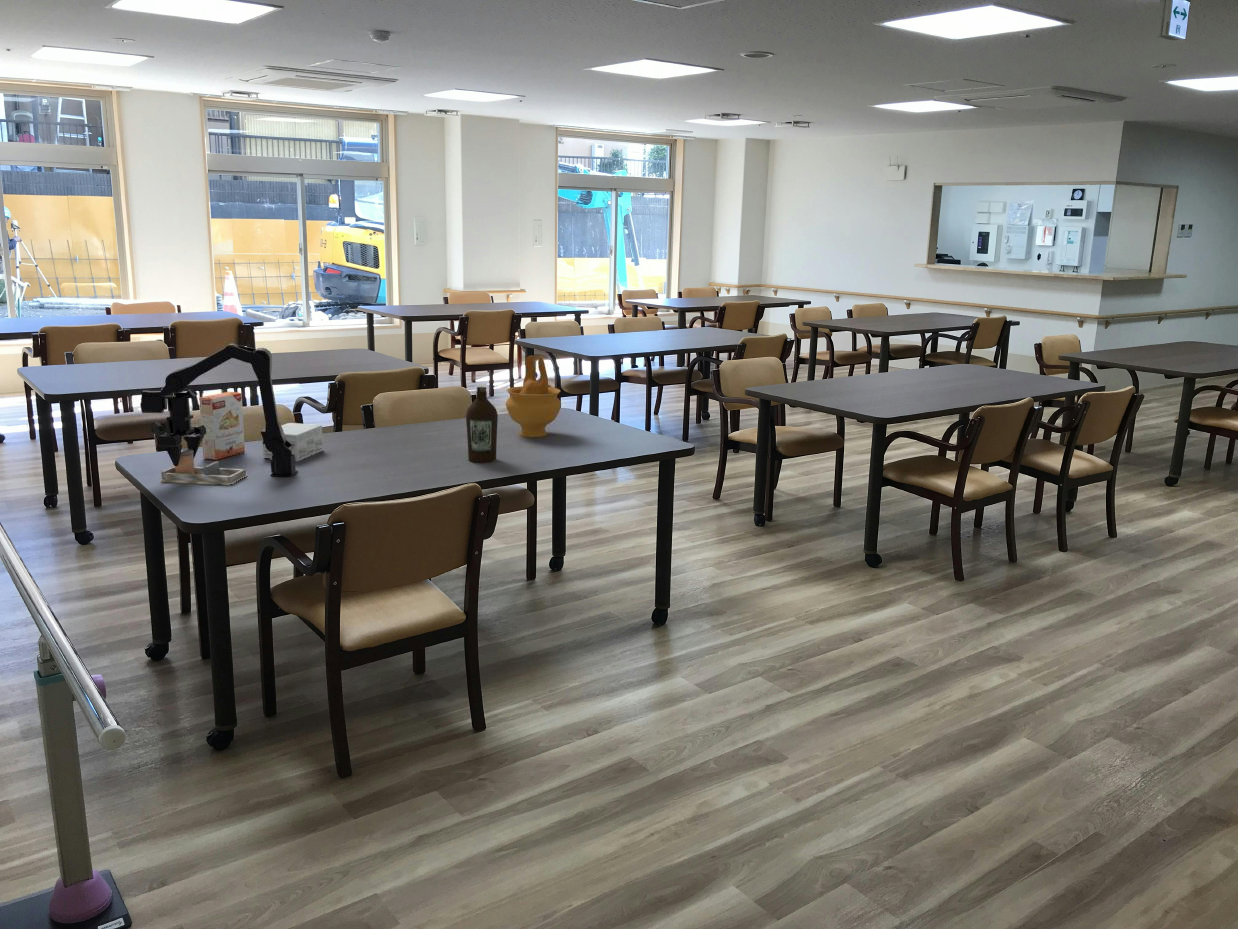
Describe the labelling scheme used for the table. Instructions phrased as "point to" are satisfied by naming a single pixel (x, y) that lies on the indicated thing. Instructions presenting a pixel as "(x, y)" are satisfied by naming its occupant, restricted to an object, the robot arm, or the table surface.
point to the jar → (186, 462)
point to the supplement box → (301, 440)
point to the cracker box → (222, 425)
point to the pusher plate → (212, 469)
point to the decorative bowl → (533, 401)
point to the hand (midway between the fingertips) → (184, 462)
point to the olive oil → (481, 429)
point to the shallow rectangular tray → (204, 476)
